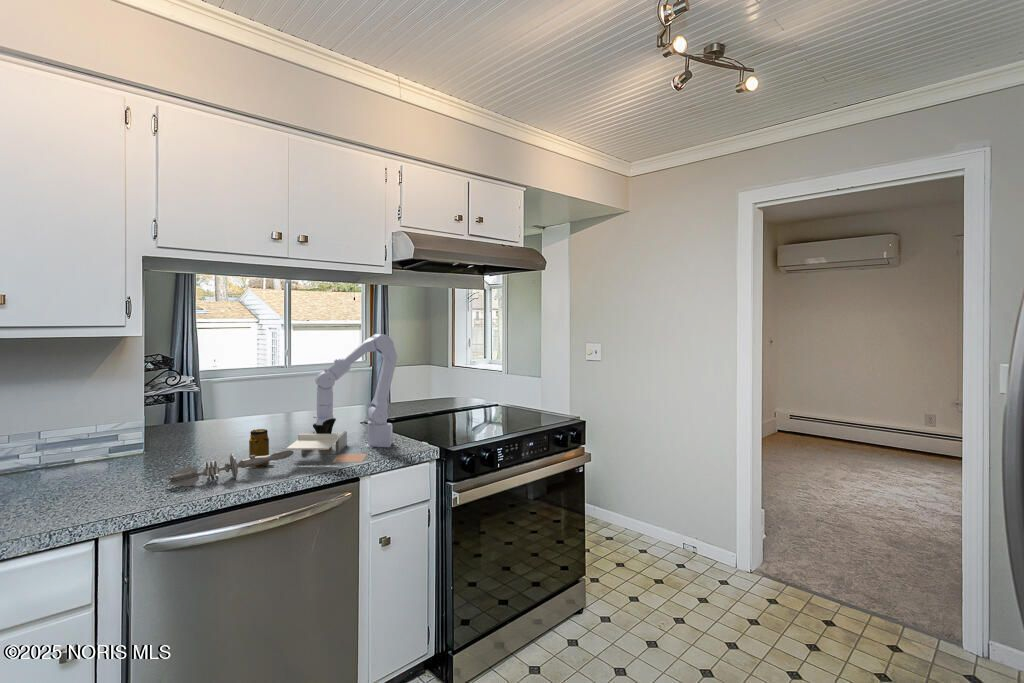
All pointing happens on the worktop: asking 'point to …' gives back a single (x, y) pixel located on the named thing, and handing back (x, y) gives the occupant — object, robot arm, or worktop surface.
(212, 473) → the spaceship
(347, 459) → the tile
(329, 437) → the cover
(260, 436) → the condiment
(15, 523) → the worktop surface
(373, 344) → the robot arm
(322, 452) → the case
